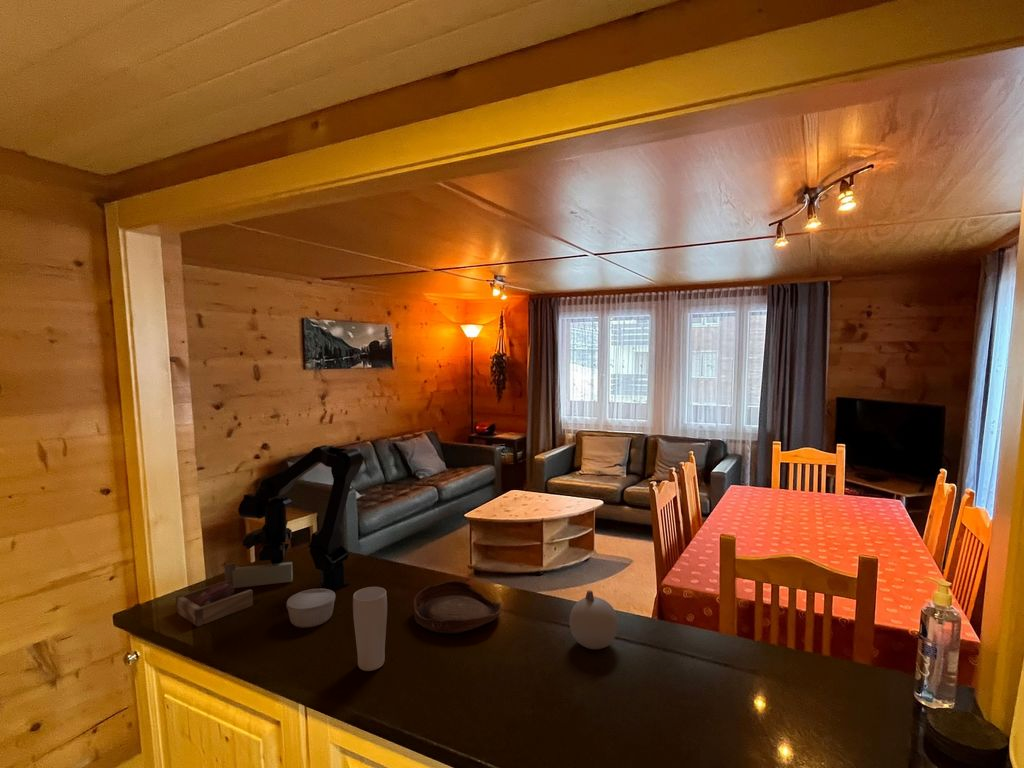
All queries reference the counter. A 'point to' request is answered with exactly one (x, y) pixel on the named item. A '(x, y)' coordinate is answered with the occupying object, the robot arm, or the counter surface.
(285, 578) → the gate
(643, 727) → the counter surface
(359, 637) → the drinking glass
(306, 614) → the ramekin
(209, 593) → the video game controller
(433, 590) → the dark brown shallow dish
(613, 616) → the ornament
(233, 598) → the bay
